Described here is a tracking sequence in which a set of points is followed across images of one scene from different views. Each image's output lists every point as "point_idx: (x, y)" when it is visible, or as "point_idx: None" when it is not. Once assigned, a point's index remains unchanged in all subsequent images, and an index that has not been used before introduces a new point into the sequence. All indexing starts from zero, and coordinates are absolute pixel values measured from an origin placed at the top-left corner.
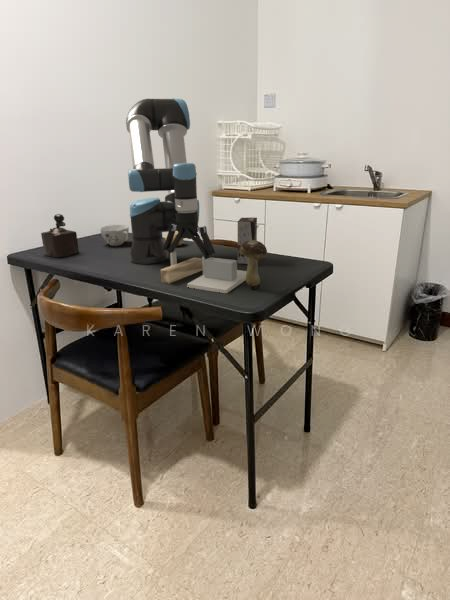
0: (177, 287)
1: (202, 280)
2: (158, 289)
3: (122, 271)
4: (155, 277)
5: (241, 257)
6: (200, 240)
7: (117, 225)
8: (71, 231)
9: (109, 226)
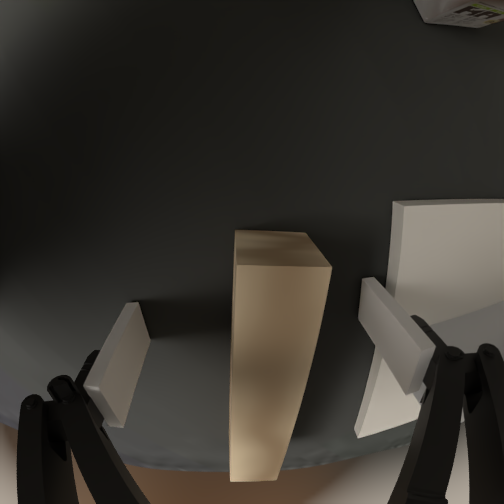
0: (321, 441)
1: (399, 396)
2: None
3: (23, 397)
4: (165, 421)
5: (464, 15)
6: (441, 479)
7: None
8: None
9: None
